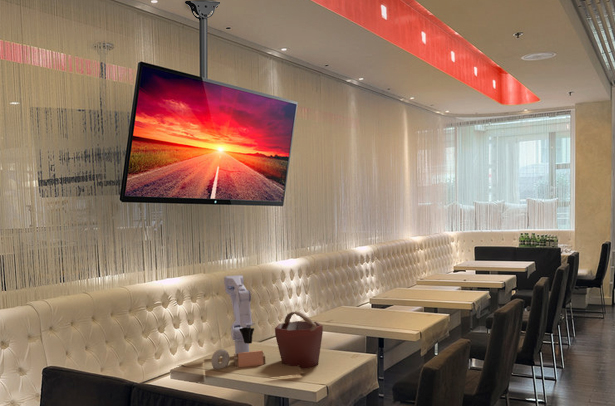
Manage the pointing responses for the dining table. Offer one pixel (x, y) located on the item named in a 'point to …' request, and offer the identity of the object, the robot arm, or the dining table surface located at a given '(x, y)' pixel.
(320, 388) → the dining table surface
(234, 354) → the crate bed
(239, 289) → the robot arm
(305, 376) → the dining table surface
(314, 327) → the bucket
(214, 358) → the donut
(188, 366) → the dining table surface
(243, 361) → the block
